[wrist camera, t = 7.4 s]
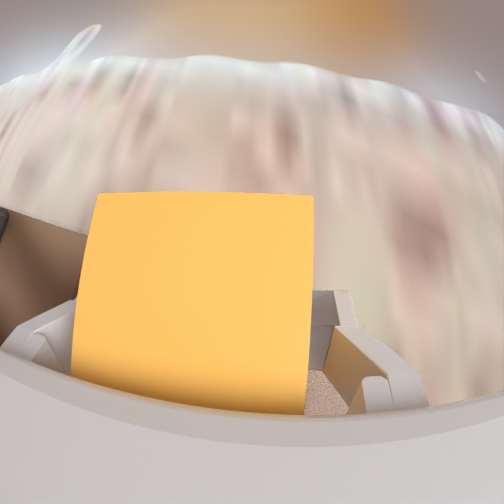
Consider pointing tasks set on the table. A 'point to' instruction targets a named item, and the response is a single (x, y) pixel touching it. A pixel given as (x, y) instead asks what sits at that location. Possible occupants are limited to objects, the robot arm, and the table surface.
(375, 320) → the table surface
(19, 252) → the walnut post board
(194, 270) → the upright amber block
